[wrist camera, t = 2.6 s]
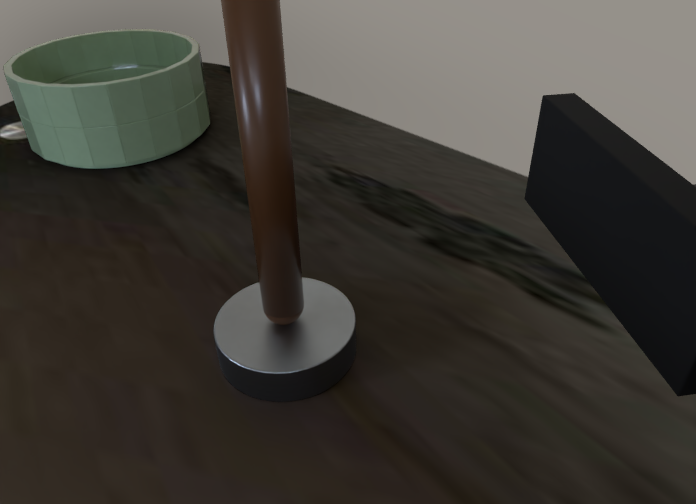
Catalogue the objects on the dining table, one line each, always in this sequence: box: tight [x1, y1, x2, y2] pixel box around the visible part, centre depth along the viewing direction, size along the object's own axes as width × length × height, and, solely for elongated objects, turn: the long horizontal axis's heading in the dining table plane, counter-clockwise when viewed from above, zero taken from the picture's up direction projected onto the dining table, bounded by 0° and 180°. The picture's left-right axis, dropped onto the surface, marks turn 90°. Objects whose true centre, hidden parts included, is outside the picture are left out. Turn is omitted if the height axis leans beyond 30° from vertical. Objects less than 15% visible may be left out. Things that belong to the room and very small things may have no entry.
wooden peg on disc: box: [213, 0, 356, 402], centre depth 25 cm, size 7×7×19 cm
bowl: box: [3, 29, 210, 169], centre depth 50 cm, size 15×15×7 cm
